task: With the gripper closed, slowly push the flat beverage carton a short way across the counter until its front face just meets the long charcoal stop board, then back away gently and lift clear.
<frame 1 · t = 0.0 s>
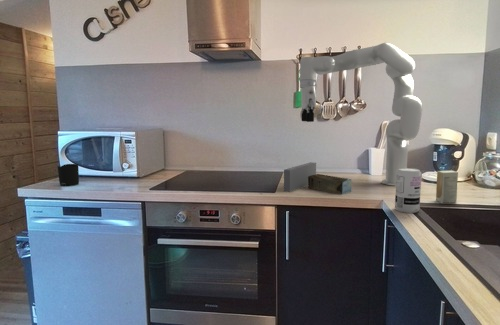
hand: (307, 121, 170), 31 cm above the worktop, tool pointing down, fingers open, 9 cm apart
supplement can: (406, 210, 131), on the worktop
stop board: (300, 186, 174), on the worktop
skincare box: (445, 202, 144), on the worktop
pen holder: (69, 185, 183), on the worktop
beverage carton: (329, 190, 166), on the worktop
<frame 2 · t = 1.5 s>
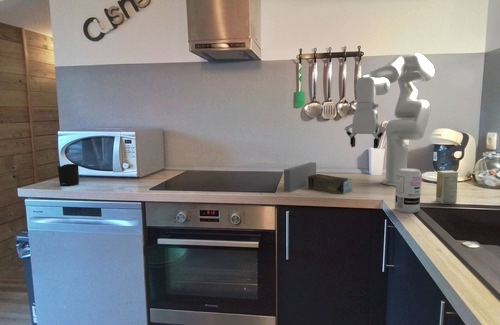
hand: (364, 147, 155), 20 cm above the worktop, tool pointing down, fingers open, 9 cm apart
nothing on the worktop moved.
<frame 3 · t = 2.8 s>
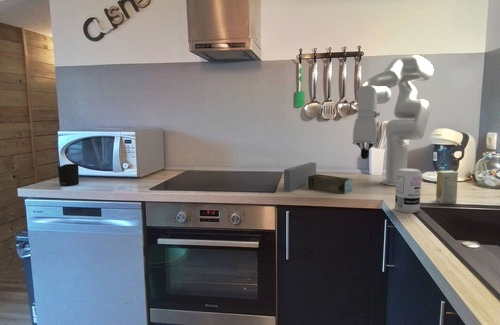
hand: (364, 158, 155), 16 cm above the worktop, tool pointing down, fingers closed
nothing on the worktop moved.
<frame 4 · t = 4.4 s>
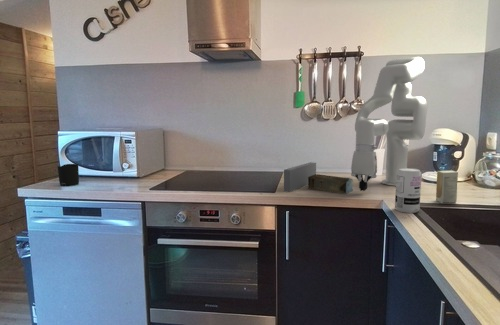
hand: (363, 190, 157), 2 cm above the worktop, tool pointing down, fingers closed
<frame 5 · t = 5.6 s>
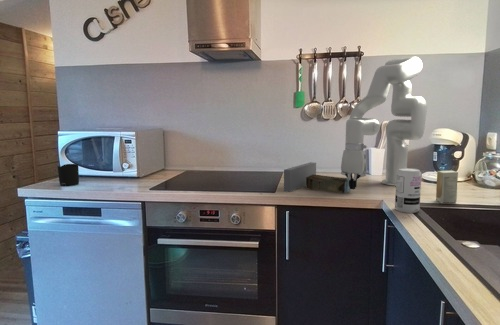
hand: (352, 188, 159), 2 cm above the worktop, tool pointing down, fingers closed
beverage carton: (327, 191, 167), on the worktop, touching gripper
everything else where it was.
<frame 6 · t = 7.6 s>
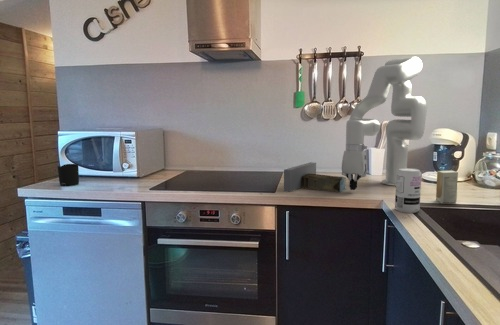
hand: (353, 189, 160), 2 cm above the worktop, tool pointing down, fingers closed
beverage carton: (323, 189, 169), on the worktop
everything else where it was.
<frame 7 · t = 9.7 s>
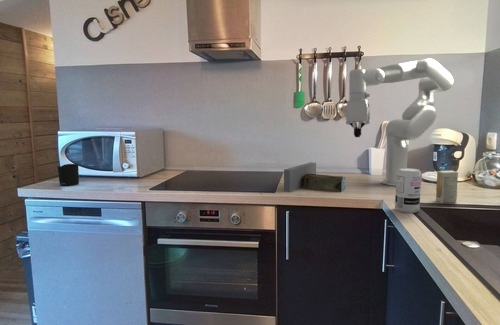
hand: (357, 136, 168), 24 cm above the worktop, tool pointing down, fingers closed
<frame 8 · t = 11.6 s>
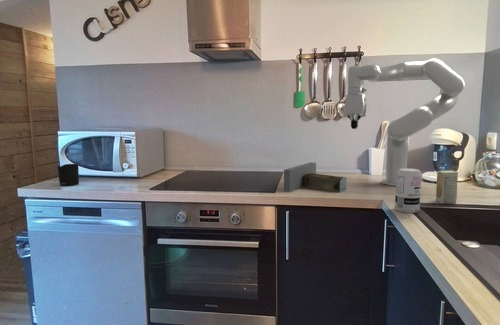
hand: (354, 128, 182), 27 cm above the worktop, tool pointing down, fingers closed
at the end: beverage carton 1.9 cm from the target spot on the worktop beside the stop board, on the worktop; beverage carton tilted 0° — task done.
